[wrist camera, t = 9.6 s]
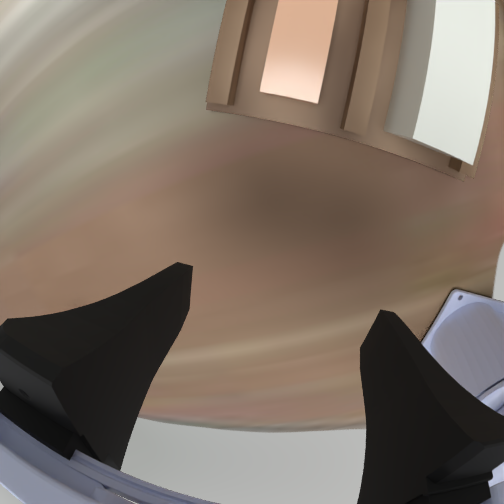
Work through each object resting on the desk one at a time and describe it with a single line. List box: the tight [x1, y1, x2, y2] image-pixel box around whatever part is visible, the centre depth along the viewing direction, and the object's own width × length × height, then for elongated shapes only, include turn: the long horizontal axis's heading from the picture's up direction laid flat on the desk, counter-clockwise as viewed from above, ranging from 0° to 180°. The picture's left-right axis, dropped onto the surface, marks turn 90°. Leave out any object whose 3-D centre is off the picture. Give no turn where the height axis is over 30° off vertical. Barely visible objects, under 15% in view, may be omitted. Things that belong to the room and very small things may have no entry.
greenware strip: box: [383, 0, 495, 165], centre depth 10 cm, size 4×12×5 cm, turn 169°
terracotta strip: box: [260, 0, 338, 105], centre depth 12 cm, size 3×11×2 cm, turn 170°
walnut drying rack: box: [206, 0, 499, 182], centre depth 12 cm, size 17×14×3 cm
